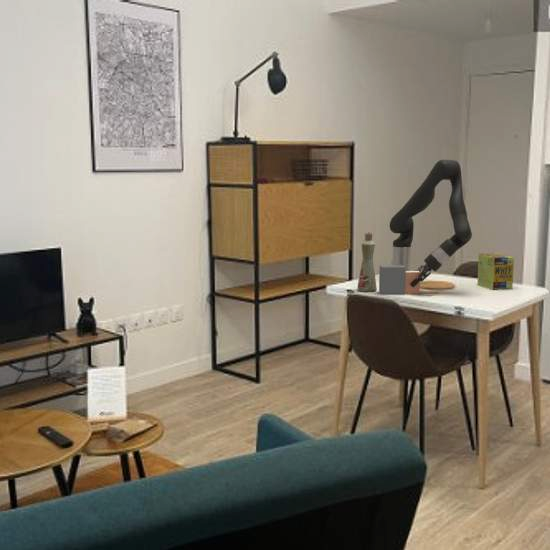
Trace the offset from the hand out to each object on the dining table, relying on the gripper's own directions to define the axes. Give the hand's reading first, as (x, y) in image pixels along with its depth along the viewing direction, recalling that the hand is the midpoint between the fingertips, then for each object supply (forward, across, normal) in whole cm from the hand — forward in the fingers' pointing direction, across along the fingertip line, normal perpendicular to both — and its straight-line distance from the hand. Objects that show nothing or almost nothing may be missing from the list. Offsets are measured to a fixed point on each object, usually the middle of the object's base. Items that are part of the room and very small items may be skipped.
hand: (410, 284), depth 311 cm
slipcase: (+9, 0, -3) cm, 9 cm away
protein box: (-28, -18, +34) cm, 48 cm away
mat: (-3, 0, +10) cm, 10 cm away
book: (+5, 0, +1) cm, 5 cm away
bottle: (+17, -6, -10) cm, 21 cm away
